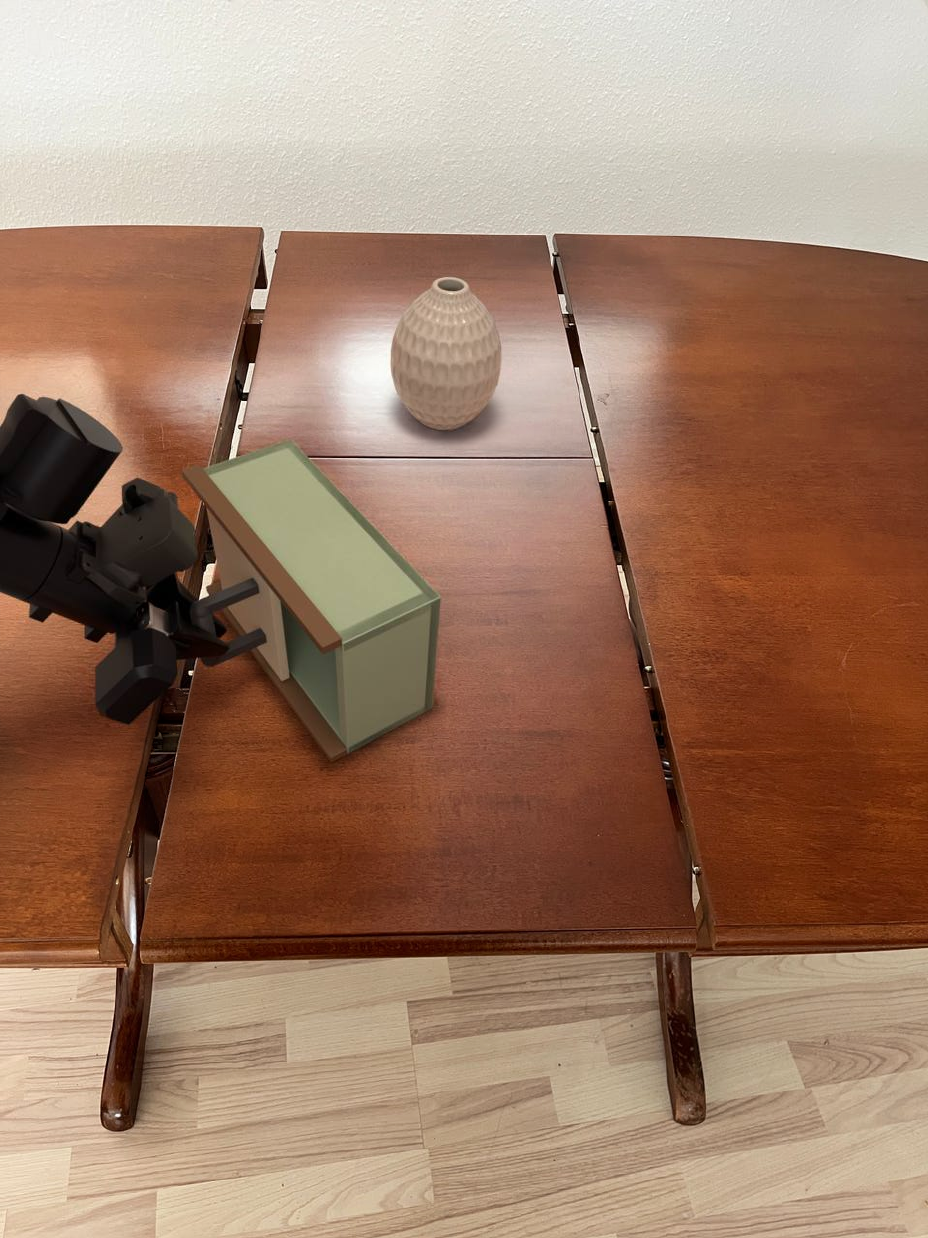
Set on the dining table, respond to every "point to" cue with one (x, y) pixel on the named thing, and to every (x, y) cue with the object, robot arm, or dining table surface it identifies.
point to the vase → (446, 356)
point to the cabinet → (328, 596)
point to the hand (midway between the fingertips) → (225, 641)
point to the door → (242, 606)
